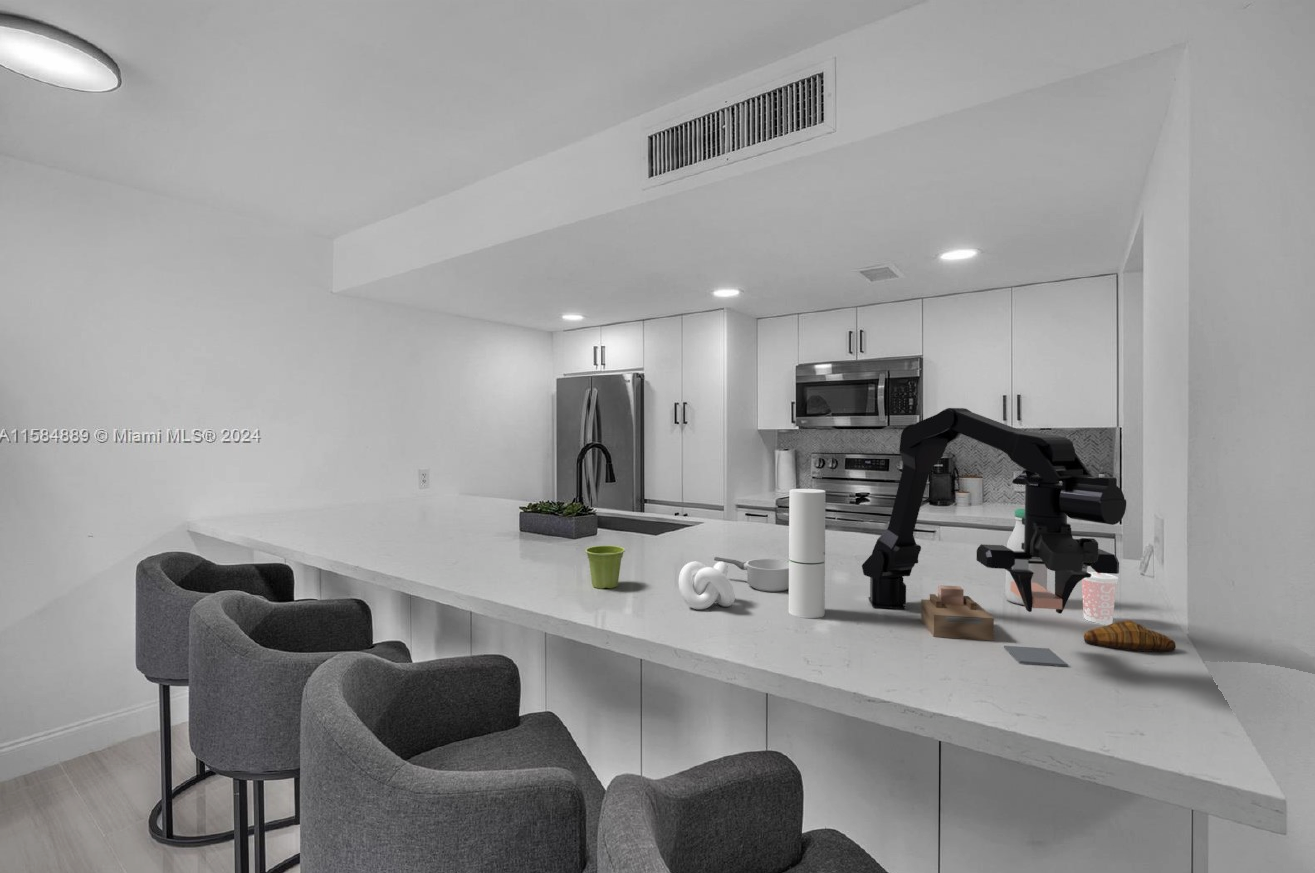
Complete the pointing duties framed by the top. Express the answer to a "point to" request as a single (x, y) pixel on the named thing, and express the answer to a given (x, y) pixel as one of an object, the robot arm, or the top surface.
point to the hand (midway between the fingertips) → (1043, 611)
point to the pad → (1035, 655)
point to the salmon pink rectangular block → (1040, 597)
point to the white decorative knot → (705, 585)
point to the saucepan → (764, 573)
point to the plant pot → (605, 565)
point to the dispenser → (956, 615)
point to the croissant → (1129, 637)
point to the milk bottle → (1038, 569)
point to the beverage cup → (1099, 597)
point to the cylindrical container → (807, 553)
